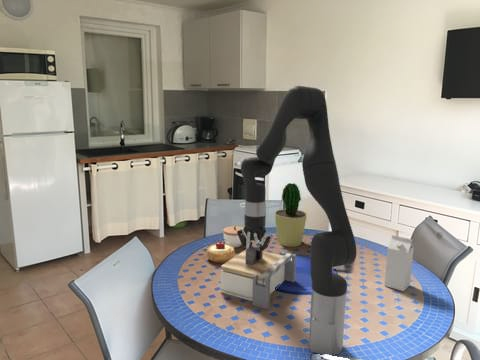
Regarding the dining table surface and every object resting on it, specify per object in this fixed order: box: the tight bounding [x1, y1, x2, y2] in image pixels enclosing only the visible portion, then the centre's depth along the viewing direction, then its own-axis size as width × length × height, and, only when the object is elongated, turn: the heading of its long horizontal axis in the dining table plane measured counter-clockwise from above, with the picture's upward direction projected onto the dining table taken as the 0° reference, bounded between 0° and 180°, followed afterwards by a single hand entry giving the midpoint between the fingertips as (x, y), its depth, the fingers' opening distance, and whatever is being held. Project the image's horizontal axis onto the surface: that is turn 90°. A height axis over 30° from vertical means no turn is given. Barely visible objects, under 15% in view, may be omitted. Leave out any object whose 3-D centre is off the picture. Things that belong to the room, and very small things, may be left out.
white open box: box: [220, 251, 297, 310], centre depth 143 cm, size 25×20×10 cm
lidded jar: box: [223, 225, 247, 249], centre depth 185 cm, size 11×11×9 cm
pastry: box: [206, 238, 236, 264], centre depth 169 cm, size 12×12×9 cm
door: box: [220, 243, 293, 284], centre depth 142 cm, size 25×18×6 cm
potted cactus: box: [274, 182, 308, 248], centre depth 188 cm, size 15×15×30 cm
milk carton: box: [383, 234, 415, 292], centre depth 145 cm, size 7×7×19 cm
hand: (254, 258), depth 143 cm, fingers closed on door, 3 cm apart
